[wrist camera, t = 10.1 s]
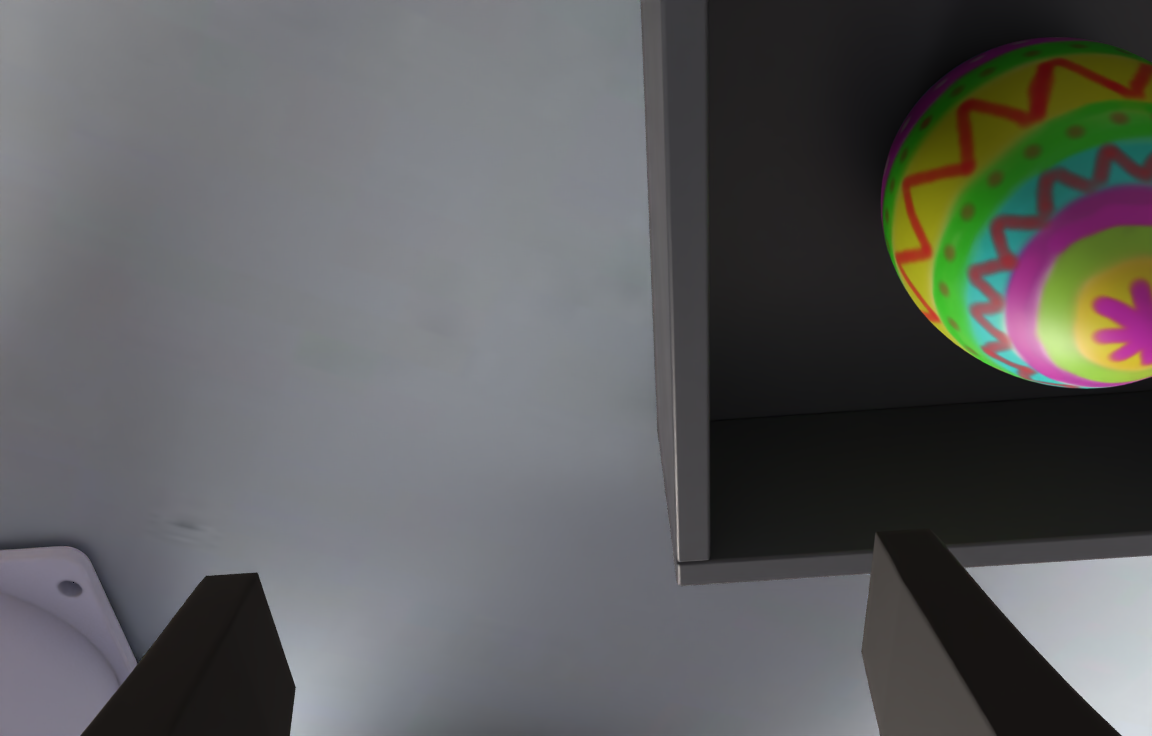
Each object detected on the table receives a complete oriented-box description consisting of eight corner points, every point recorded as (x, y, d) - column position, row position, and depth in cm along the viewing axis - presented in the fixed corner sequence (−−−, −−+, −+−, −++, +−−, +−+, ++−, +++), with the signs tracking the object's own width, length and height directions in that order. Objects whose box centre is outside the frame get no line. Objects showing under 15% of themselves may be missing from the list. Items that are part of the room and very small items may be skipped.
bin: (1241, 391, 23) (1376, 543, 19) (657, 430, 23) (676, 588, 19) (1476, -290, 16) (1762, -261, 12) (631, -219, 16) (655, -169, 12)
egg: (827, 259, 20) (916, 470, 15) (894, -10, 17) (1030, 141, 12) (1083, 277, 20) (1252, 489, 15) (1190, 16, 18) (1438, 172, 13)
